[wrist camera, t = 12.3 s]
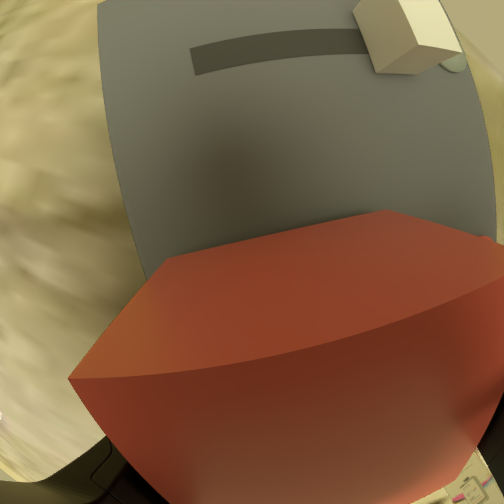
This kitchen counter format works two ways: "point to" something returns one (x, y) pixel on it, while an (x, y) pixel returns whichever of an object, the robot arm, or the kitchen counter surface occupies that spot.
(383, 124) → the breaker panel
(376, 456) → the cap
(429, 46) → the block
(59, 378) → the kitchen counter surface
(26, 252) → the kitchen counter surface
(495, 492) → the ink cartridge box
